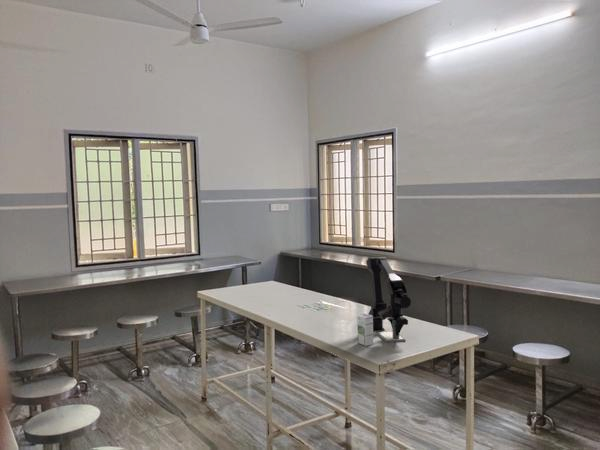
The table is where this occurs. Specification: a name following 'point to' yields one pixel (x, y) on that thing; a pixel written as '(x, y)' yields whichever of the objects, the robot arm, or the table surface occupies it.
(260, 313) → the table surface
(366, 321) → the syrup box
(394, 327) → the marker
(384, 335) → the writing board
